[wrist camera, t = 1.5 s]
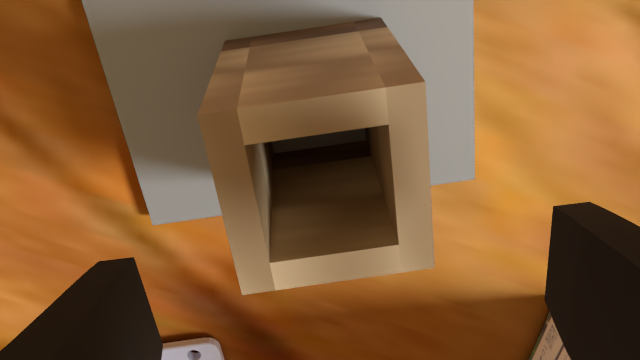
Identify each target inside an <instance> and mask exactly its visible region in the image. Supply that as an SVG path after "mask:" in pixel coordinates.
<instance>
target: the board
mask: <svg viewBox="0 0 640 360" xmlns="http://www.w3.org/2000/svg"><path fill="white" fill-rule="evenodd" d="M81 1H82V4H83V7H84V10H85V13H86V16H87V20H88V23H89V26H90V29H91V32H92V35H93V38H94V42H95V45H96V48H97V51H98V54H99V57H100V60H101V64H102V67H103V70H104V73H105V76H106V79H107V83H108V86H109V89H110V92H111V95H112V98H113V101H114V105H115V108H116V111H117V114H118V117H119V120H120V124H121V127H122V130H123V133H124V136H125V139H126V142H127V146H128V149H129V152H130V155H131V158H132V161H133V164H134V168H135V171H136V174H137V177H138V180H139V183H140V187H141V190H142V193H143V196H144V199H145V202H146V205H147V209H148V212H149V215H150V218H151V221H152V224H153V225H159V224H166V223H173V222H180V221H187V220H194V219H201V218H208V217H215V216H221V215H222V212H221V208H220V204H219V200H218V196H217V192H216V188H215V184H214V180H213V176H212V172H211V168H210V164H209V160H208V156H207V152H206V148H205V144H204V140H203V136H202V132H201V128H200V124H199V120H198V116H197V114H198V112H199V109H200V106H201V103H202V101H203V98H204V95H205V93H206V90H207V87H208V85H209V82H210V79H211V77H212V74H213V71H214V68H215V66H216V63H217V60H218V58H219V55H220V52H221V50H222V47H223V44H224V42H225V41H226V40H233V39H239V38H246V37H253V36H260V35H266V34H273V33H280V32H287V31H294V30H300V29H307V28H314V27H321V26H328V25H334V24H341V23H348V22H355V21H362V20H368V19H375V18H382V20H383V21H384V23H385V24H386V26H387V27H388V28H389V30H390V31H391V33H392V34H393V36H394V37H395V38H396V40H397V41H398V43H399V44H400V46H401V47H402V49H403V50H404V51H405V53H406V54H407V56H408V57H409V59H410V60H411V62H412V63H413V64H414V66H415V67H416V69H417V70H418V72H419V73H420V75H421V76H422V77H423V79H424V80H425V82H426V102H427V122H428V142H429V162H430V182H431V185H438V184H445V183H452V182H459V181H466V180H473V179H475V139H474V29H473V0H81ZM364 140H366V133H365V128H361V129H354V130H347V131H340V132H333V133H326V134H320V135H313V136H306V137H299V138H292V139H285V140H278V141H272V146H273V151H274V153H281V152H288V151H295V150H302V149H309V148H316V147H323V146H329V145H336V144H343V143H350V142H357V141H364Z"/></svg>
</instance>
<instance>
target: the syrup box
mask: <svg viewBox="0 0 640 360" xmlns="http://www.w3.org/2000/svg"><path fill="white" fill-rule="evenodd" d="M529 360H571V359H570V357H569V355H568V353H567V352H566V349H565V347H564V345H563V343H562V340H561V338H560V336H559V334H558V331H557V329H556V327H555V324H554V322H553V319H552V317H551V314H550V312H549V314H548V316H547V319H546V321H545V324H544V326H543V328H542V330H541V333H540V335H539V337H538V339H537V342H536V344H535V346H534V348H533V351H532V353H531V355H530V357H529Z"/></svg>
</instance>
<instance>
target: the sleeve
mask: <svg viewBox="0 0 640 360" xmlns="http://www.w3.org/2000/svg"><path fill="white" fill-rule="evenodd" d="M197 116H198V120H199V124H200V128H201V132H202V136H203V140H204V144H205V148H206V152H207V156H208V160H209V164H210V168H211V172H212V176H213V180H214V184H215V188H216V192H217V196H218V200H219V204H220V208H221V212H222V216H223V220H224V225H225V229H226V233H227V237H228V241H229V245H230V249H231V253H232V257H233V261H234V265H235V269H236V273H237V277H238V281H239V285H240V289H241V293H242V295H247V294H254V293H261V292H268V291H275V290H282V289H289V288H296V287H303V286H310V285H317V284H325V283H332V282H339V281H346V280H353V279H360V278H367V277H374V276H381V275H388V274H395V273H403V272H410V271H417V270H424V269H431V268H435V262H434V242H433V222H432V202H431V182H430V162H429V142H428V122H427V102H426V82H425V80H424V79H423V77H422V76H421V75H420V73H419V72H418V70H417V69H416V67H415V66H414V64H413V63H412V62H411V60H410V59H409V57H408V56H407V54H406V53H405V51H404V50H403V49H402V47H401V46H400V44H399V43H398V41H397V40H396V38H395V37H394V36H393V34H392V33H391V31H390V30H389V28H388V27H387V26H386V24H385V23H384V21H383V20H382V18H375V19H368V20H362V21H355V22H348V23H341V24H334V25H328V26H321V27H314V28H307V29H300V30H294V31H287V32H280V33H273V34H266V35H260V36H253V37H246V38H239V39H233V40H226V41H225V42H224V44H223V47H222V50H221V52H220V55H219V58H218V60H217V63H216V66H215V68H214V71H213V74H212V77H211V79H210V82H209V85H208V87H207V90H206V93H205V95H204V98H203V101H202V103H201V106H200V109H199V112H198V114H197ZM361 128H365V133H366V140H364V141H357V142H350V143H343V144H336V145H329V146H323V147H316V148H309V149H302V150H295V151H288V152H281V153H274V151H273V146H272V141H278V140H285V139H292V138H299V137H306V136H313V135H320V134H326V133H333V132H340V131H347V130H354V129H361Z"/></svg>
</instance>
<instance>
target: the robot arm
mask: <svg viewBox="0 0 640 360" xmlns="http://www.w3.org/2000/svg"><path fill="white" fill-rule="evenodd" d="M545 302H546V305H547V307H548V309H549V312H550V314H551V317H552V319H553V322H554V324H555V327H556V329H557V331H558V334H559V336H560V338H561V340H562V343H563V345H564V347H565V349H566V352H567V353H568V355H569V357H570V359H571V360H640V227H639V226H637V225H635V224H634V223H632V222H630V221H628V220H626V219H624V218H622V217H620V216H618V215H616V214H614V213H612V212H610V211H608V210H606V209H604V208H602V207H600V206H598V205H595V204H593V203H591V202H585V203H577V204H568V205H560V206H553V215H552V226H551V237H550V247H549V258H548V269H547V280H546V291H545ZM192 350H196V351H198V353H193V352H191V351H192ZM0 360H224V356H223V353H222V349H221V346H220V344H219V342H218V341H217V340H215V339H213V338H198V339H191V340H184V341H177V342H170V343H162V341H161V338H160V335H159V332H158V329H157V326H156V323H155V320H154V317H153V314H152V311H151V308H150V305H149V302H148V298H147V295H146V292H145V289H144V286H143V283H142V280H141V277H140V274H139V271H138V268H137V265H136V262H135V259H134V257H132V258H123V259H115V260H107V261H99V262H98V263H96V264H95V265H94V266H93V267H92V268H90V269H89V270H88V271H87V272H86V273H85V274H83V275H82V276H81V277H80V278H79V279H78V280H77V281H76V282H75V283H74V284H73V285H71V286H70V287H69V288H68V289H67V290H66V291H65V292H64V293H63V294H62V295H61V296H60V297H59V298H58V299H57V300H55V301H54V302H53V303H52V304H51V305H50V306H49V307H48V308H47V309H46V310H45V311H44V312H43V313H42V314H40V315H39V316H38V317H37V318H36V319H35V320H34V321H33V322H32V323H31V324H30V325H29V326H28V327H26V328H25V329H24V330H23V331H22V332H21V333H20V334H19V335H18V336H17V337H16V338H15V339H13V340H12V341H11V342H10V343H9V344H8V345H7V346H6V347H5V348H3V349H2V350H1V351H0Z"/></svg>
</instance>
